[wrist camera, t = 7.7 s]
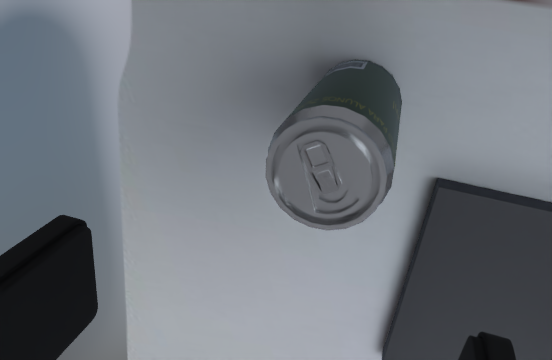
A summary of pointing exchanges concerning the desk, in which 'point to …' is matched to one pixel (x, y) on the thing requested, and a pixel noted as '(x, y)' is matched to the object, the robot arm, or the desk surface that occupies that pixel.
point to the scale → (476, 276)
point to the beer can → (337, 148)
